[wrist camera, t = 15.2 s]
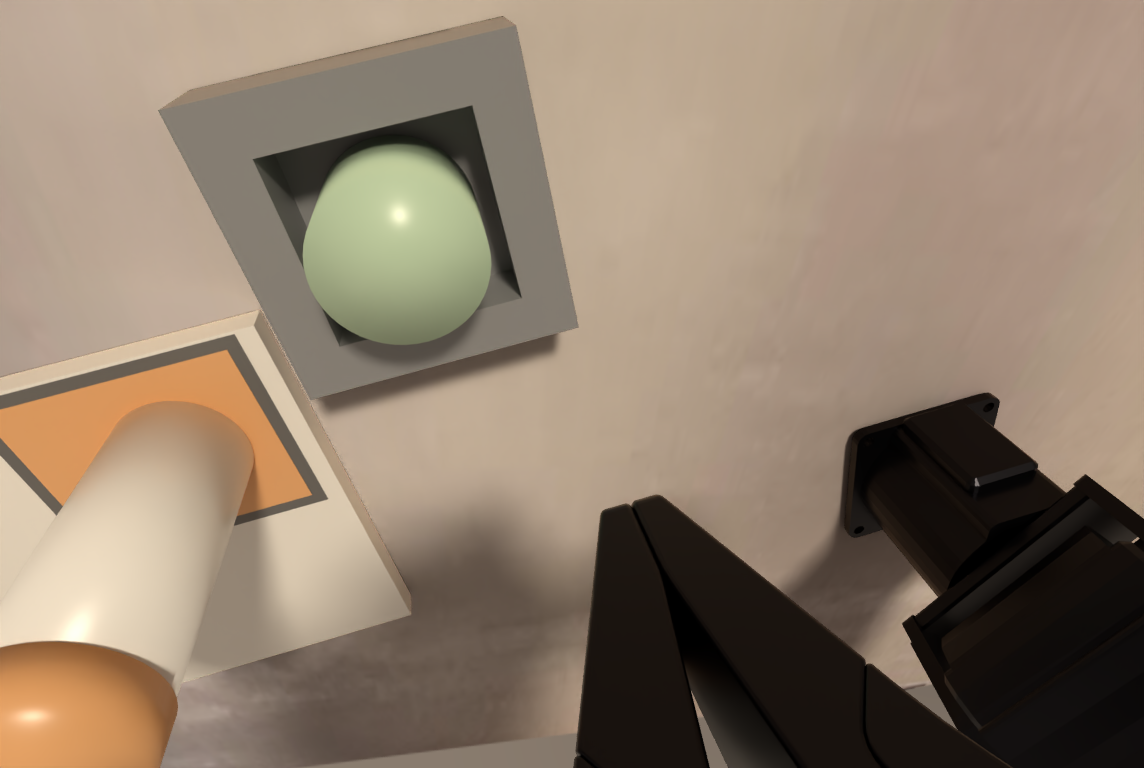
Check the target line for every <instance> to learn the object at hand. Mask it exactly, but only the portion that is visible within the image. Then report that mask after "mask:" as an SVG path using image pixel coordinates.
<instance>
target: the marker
mask: <svg viewBox="0 0 1144 768" xmlns="http://www.w3.org/2000/svg"><path fill="white" fill-rule="evenodd" d="M253 463H254V453H253V448H252V446H251V443H250V441H249V439H248V437H247V436H246V434H245V433H244V432H243V430H242V429H241V428H240V427H239V426H238V425H237V424H236V423H235V422H233V421H232V420H231V419H230V418H228V417H226V416H225V415H223V414H222V413H220V412H218V411H215V410H213V409H211V408H208V407H206V406H202V405H199V404H195V403H189V402H182V401H162V402H155V403H150V404H146V405H143V406H141V407H138V408H136V409H134V410H132V411H130V412H129V413H128V414H126V415H125V416H124V417H123V418H122V419H120V420H119V422H118V423H117V424H116V426H115V427H114V429H113V430H112V432H111V433H110V435H109V436H108V438H107V439H106V441H105V443H104V444H103V446H102V447H101V449H100V450H99V452H98V453H97V455H96V456H95V458H94V459H93V461H92V462H91V464H90V466H89V467H88V469H87V470H86V472H85V473H84V475H83V476H82V478H81V479H80V481H79V482H78V484H77V485H76V487H75V489H74V490H73V492H72V493H71V495H70V496H69V498H68V499H67V501H66V502H65V504H64V505H63V507H62V508H61V510H60V512H59V513H58V515H57V516H56V518H55V519H54V521H53V522H52V524H51V525H50V527H49V528H48V530H47V532H46V533H45V535H44V536H43V538H42V539H41V541H40V542H39V544H38V545H37V547H36V548H35V550H34V551H33V553H32V555H31V556H30V558H29V559H28V561H27V562H26V564H25V565H24V567H23V568H22V570H21V571H20V573H19V574H18V576H17V578H16V579H15V581H14V582H13V584H12V585H11V587H10V588H9V590H8V591H7V593H6V594H5V596H4V597H3V599H2V601H1V602H0V768H160V765H161V762H162V759H163V756H164V753H165V750H166V747H167V744H168V740H169V737H170V734H171V731H172V728H173V725H174V722H175V719H176V716H177V710H178V703H177V697H178V694H179V690H180V687H181V684H182V681H183V678H184V675H185V672H186V669H187V666H188V663H189V660H190V657H191V654H192V651H193V648H194V645H195V642H196V639H197V636H198V633H199V630H200V627H201V624H202V620H203V617H204V614H205V611H206V608H207V605H208V602H209V599H210V596H211V593H212V590H213V587H214V584H215V581H216V578H217V575H218V572H219V569H220V566H221V563H222V560H223V557H224V554H225V550H226V547H227V544H228V541H229V538H230V535H231V532H232V529H233V526H234V523H235V520H236V517H237V514H238V511H239V508H240V505H241V502H242V499H243V496H244V493H245V490H246V487H247V484H248V480H249V477H250V474H251V471H252V468H253Z"/></svg>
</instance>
